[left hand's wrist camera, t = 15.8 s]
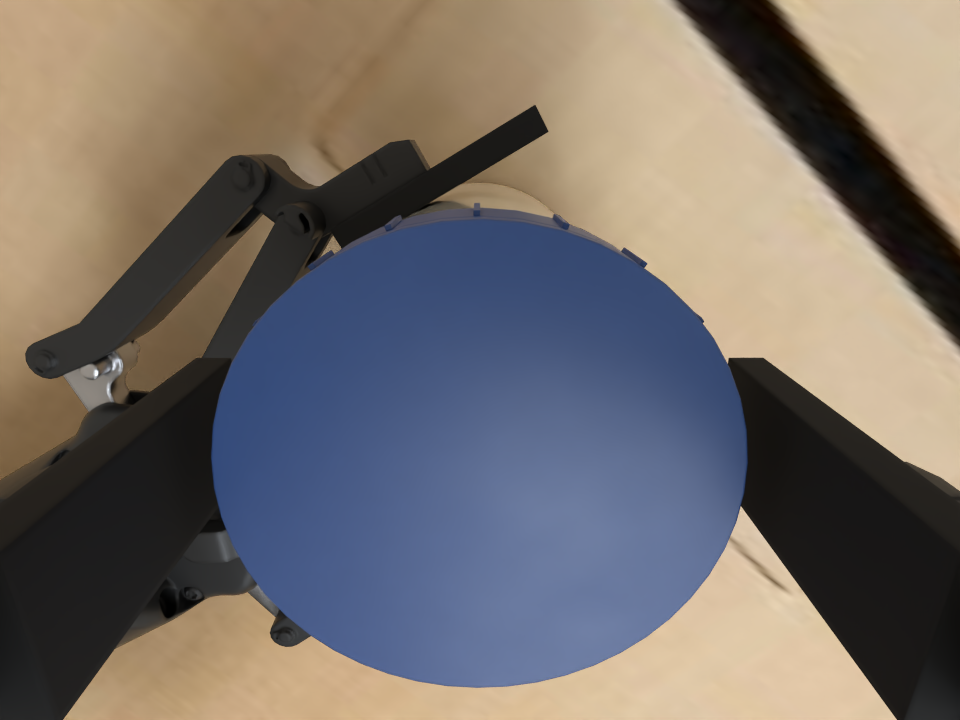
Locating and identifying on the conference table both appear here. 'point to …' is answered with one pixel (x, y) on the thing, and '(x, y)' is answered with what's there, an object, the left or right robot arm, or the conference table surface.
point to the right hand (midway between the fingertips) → (608, 265)
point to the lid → (479, 449)
